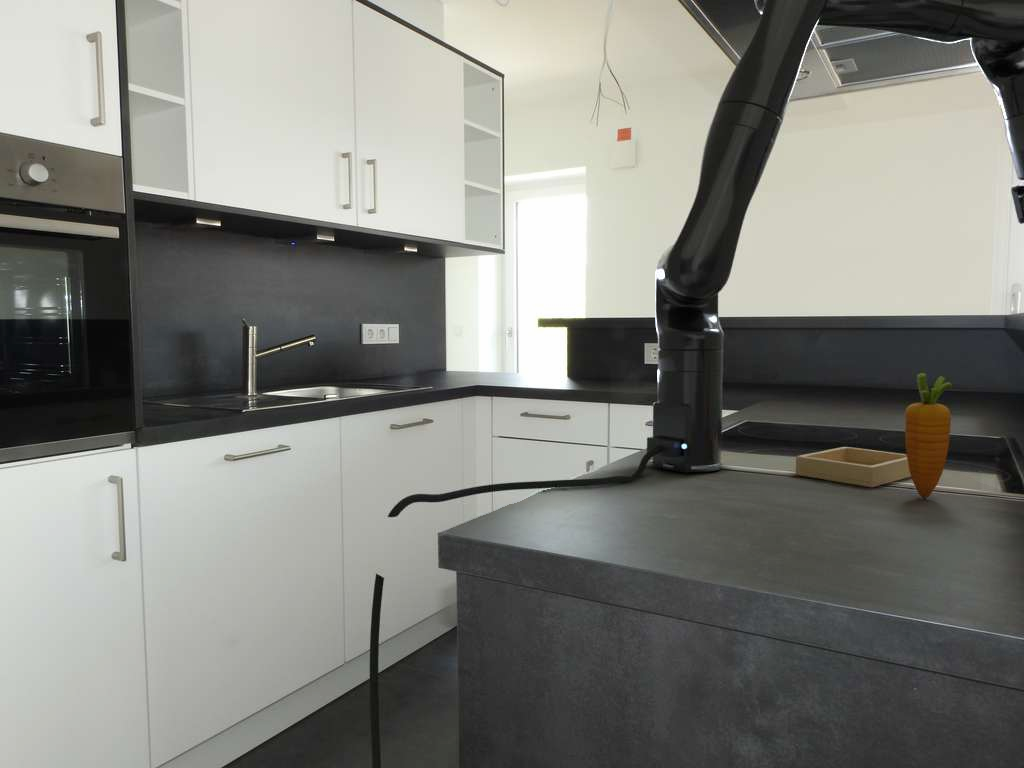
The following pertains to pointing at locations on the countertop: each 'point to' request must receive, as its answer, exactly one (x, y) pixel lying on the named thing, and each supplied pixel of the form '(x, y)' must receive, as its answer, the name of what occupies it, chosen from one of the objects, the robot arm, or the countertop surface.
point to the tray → (854, 466)
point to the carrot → (927, 436)
